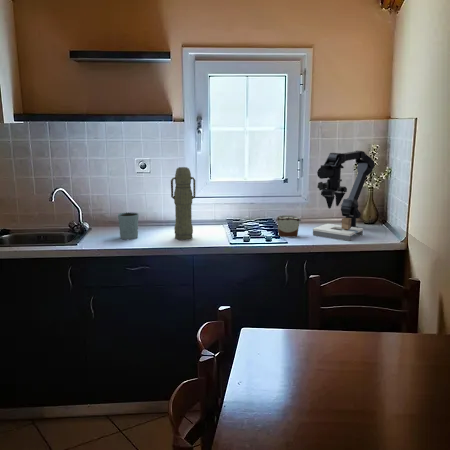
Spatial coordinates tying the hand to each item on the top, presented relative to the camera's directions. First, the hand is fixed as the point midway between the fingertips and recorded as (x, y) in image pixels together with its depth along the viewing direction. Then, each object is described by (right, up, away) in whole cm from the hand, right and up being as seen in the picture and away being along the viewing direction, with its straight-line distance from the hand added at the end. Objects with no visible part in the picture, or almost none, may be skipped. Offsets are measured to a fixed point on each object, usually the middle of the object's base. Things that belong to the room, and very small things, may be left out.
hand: (333, 207), depth 277 cm
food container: (-24, -15, -6) cm, 29 cm away
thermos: (-77, -16, -13) cm, 80 cm away
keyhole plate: (+1, -14, -5) cm, 16 cm away
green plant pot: (-104, -16, -12) cm, 106 cm away
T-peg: (+5, -15, -8) cm, 18 cm away
